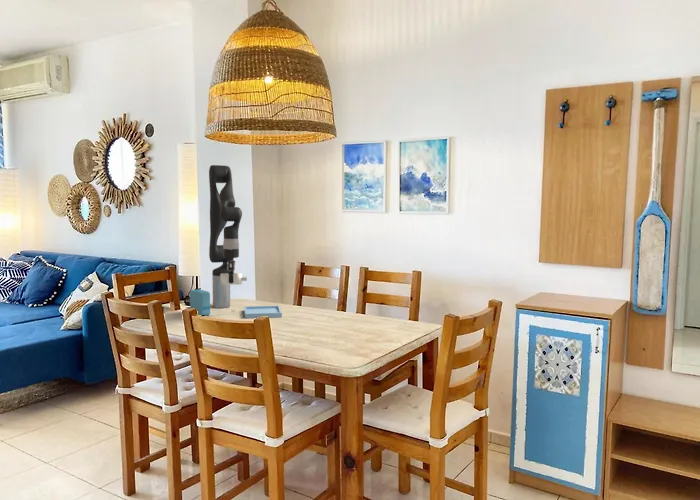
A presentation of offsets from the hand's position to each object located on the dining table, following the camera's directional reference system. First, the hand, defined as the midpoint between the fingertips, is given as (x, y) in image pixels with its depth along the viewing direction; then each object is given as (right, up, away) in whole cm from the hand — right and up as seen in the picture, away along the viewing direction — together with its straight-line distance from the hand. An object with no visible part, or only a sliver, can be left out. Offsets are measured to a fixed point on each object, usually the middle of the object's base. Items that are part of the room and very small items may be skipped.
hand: (231, 281), depth 268 cm
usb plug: (+1, -1, 0) cm, 2 cm away
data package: (-17, -17, +5) cm, 24 cm away
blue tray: (+14, -17, +8) cm, 24 cm away
